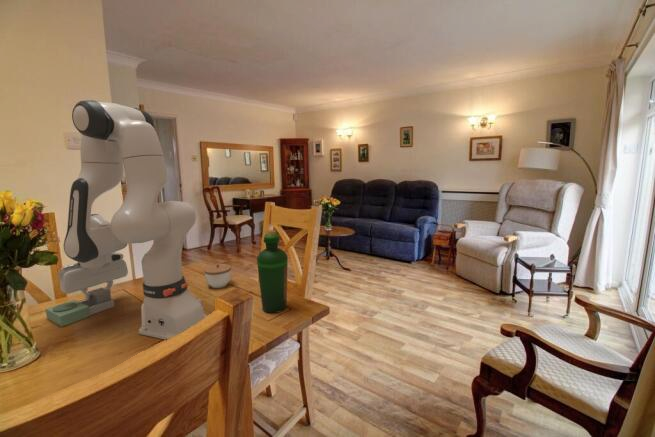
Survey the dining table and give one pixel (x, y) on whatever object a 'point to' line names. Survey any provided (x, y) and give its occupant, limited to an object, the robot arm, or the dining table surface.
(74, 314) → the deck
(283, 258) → the bottle
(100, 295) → the grey rectangular block
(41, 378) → the dining table surface
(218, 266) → the lidded jar
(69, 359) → the dining table surface
